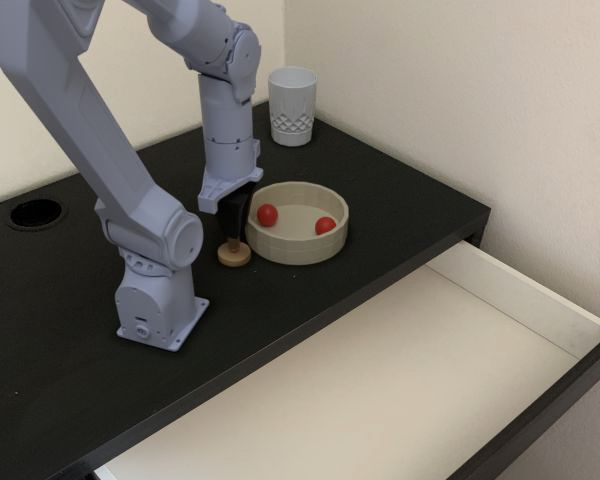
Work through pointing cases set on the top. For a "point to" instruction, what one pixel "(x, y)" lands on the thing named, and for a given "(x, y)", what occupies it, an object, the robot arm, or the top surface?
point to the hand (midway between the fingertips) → (234, 231)
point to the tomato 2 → (324, 225)
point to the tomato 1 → (267, 214)
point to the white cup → (292, 104)
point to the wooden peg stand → (234, 253)
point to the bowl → (297, 223)
